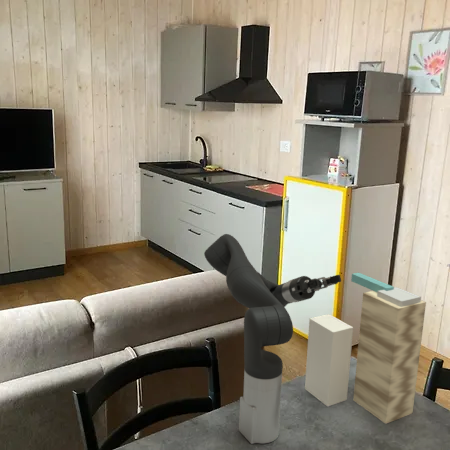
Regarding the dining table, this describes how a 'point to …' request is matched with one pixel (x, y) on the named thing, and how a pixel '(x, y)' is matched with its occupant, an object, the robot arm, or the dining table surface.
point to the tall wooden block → (388, 357)
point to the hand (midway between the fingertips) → (329, 280)
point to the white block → (328, 359)
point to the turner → (386, 290)
